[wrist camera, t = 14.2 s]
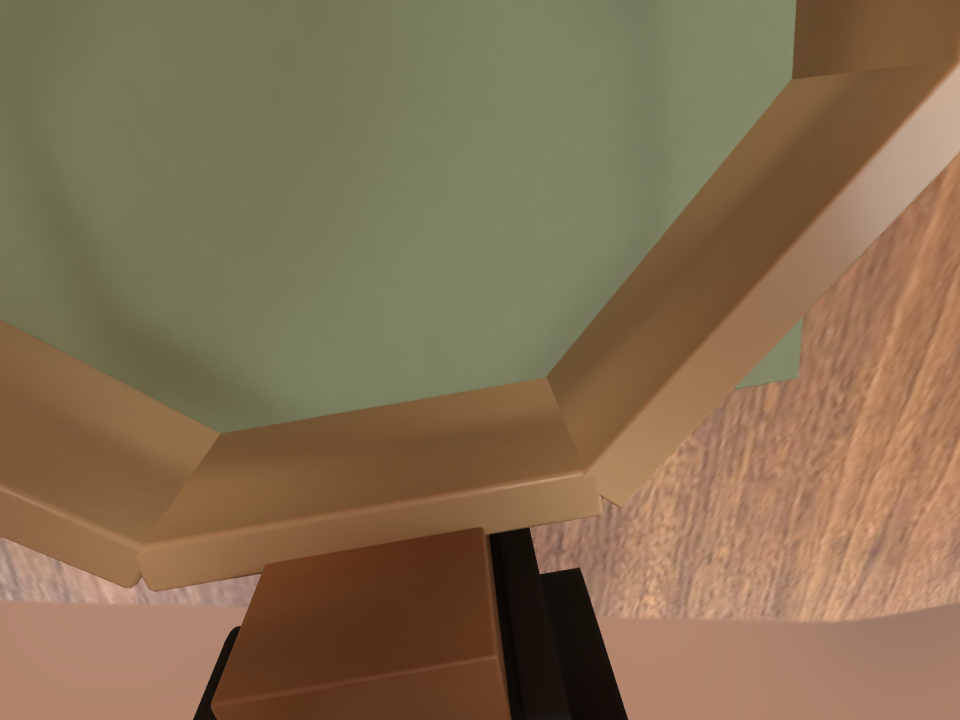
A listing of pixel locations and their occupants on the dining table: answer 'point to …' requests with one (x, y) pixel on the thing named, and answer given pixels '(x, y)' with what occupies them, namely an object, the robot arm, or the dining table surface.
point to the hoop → (482, 411)
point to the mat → (356, 184)
